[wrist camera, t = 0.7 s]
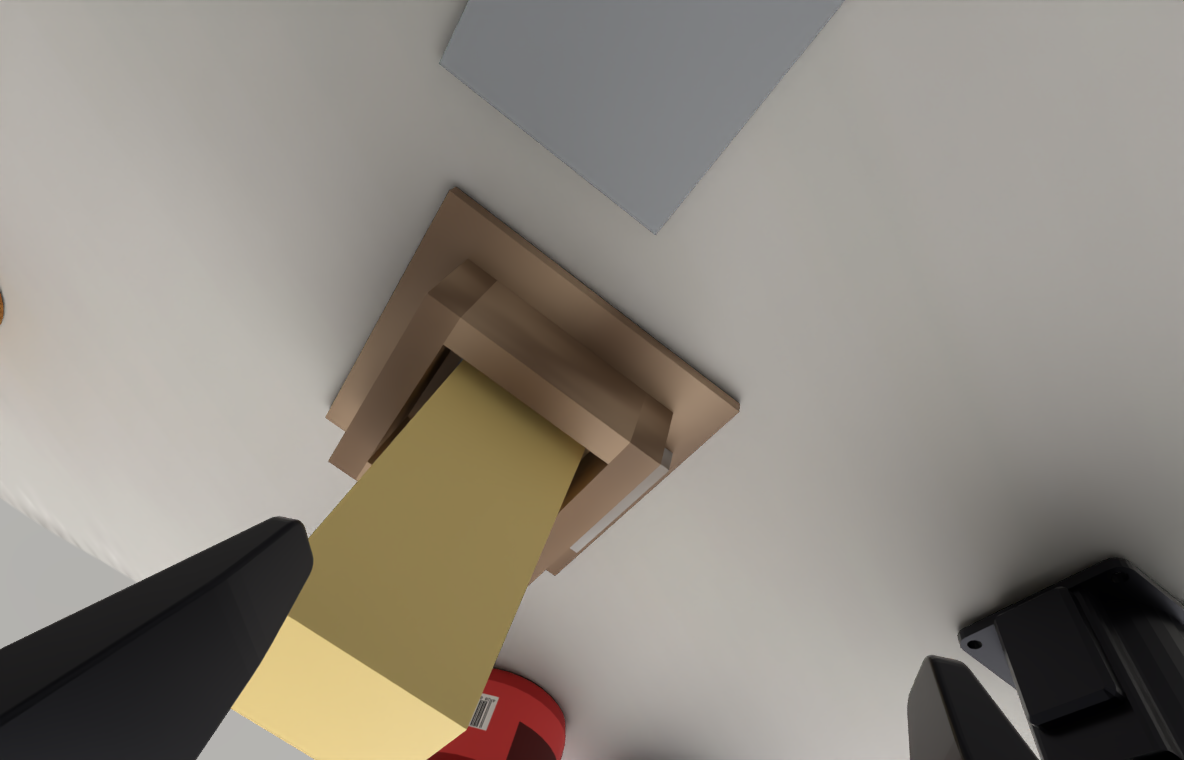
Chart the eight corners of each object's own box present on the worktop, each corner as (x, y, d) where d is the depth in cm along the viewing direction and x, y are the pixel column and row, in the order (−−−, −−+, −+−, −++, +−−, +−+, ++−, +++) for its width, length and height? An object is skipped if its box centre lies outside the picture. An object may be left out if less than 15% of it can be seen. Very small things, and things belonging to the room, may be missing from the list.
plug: (603, 413, 23) (472, 730, 13) (531, 490, 26) (378, 800, 16) (486, 327, 22) (255, 591, 12) (425, 416, 25) (196, 689, 15)
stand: (859, -20, 15) (861, -20, 15) (657, 231, 20) (655, 235, 19) (596, -257, 14) (592, -263, 14) (444, 62, 19) (438, 63, 18)
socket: (739, 403, 22) (734, 465, 19) (558, 567, 29) (533, 632, 26) (455, 186, 21) (403, 217, 18) (331, 411, 27) (278, 461, 24)
